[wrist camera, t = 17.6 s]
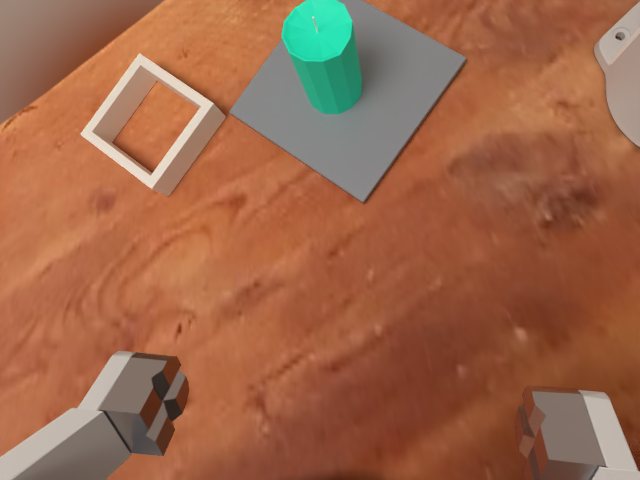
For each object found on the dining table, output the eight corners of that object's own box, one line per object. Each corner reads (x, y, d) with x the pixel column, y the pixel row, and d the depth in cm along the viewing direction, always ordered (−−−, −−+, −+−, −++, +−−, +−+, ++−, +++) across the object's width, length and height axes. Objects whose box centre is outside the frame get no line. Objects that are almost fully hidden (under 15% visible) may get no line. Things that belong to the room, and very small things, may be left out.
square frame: (156, 69, 53) (139, 53, 49) (226, 117, 50) (213, 103, 47) (101, 145, 52) (80, 134, 49) (168, 196, 50) (151, 188, 47)
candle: (311, 120, 47) (282, 60, 36) (302, 69, 48) (271, -6, 37) (367, 107, 46) (357, 41, 35) (356, 54, 47) (343, -27, 36)
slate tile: (326, -15, 50) (324, -21, 49) (464, 62, 46) (466, 57, 45) (232, 115, 50) (229, 111, 49) (363, 204, 46) (362, 201, 45)
